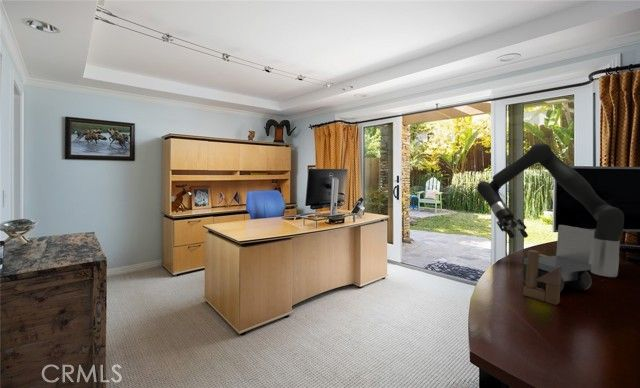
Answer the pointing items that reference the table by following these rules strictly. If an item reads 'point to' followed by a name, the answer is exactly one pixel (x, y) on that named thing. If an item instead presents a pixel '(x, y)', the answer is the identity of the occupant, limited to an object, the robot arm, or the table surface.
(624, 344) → the table surface
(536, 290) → the tan wooden frame
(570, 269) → the trolley
